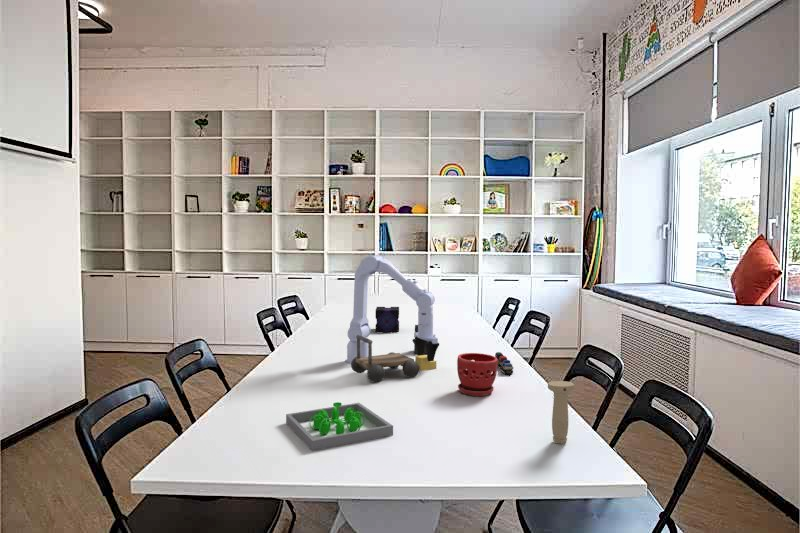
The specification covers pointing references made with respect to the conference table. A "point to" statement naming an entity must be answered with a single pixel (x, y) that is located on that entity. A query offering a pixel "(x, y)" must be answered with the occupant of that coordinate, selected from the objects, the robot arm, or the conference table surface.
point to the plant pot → (476, 373)
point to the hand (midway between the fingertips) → (425, 358)
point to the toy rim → (340, 439)
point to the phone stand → (414, 345)
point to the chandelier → (337, 420)
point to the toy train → (504, 363)
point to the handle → (560, 409)
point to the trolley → (382, 363)
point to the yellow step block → (425, 363)
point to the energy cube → (387, 319)
